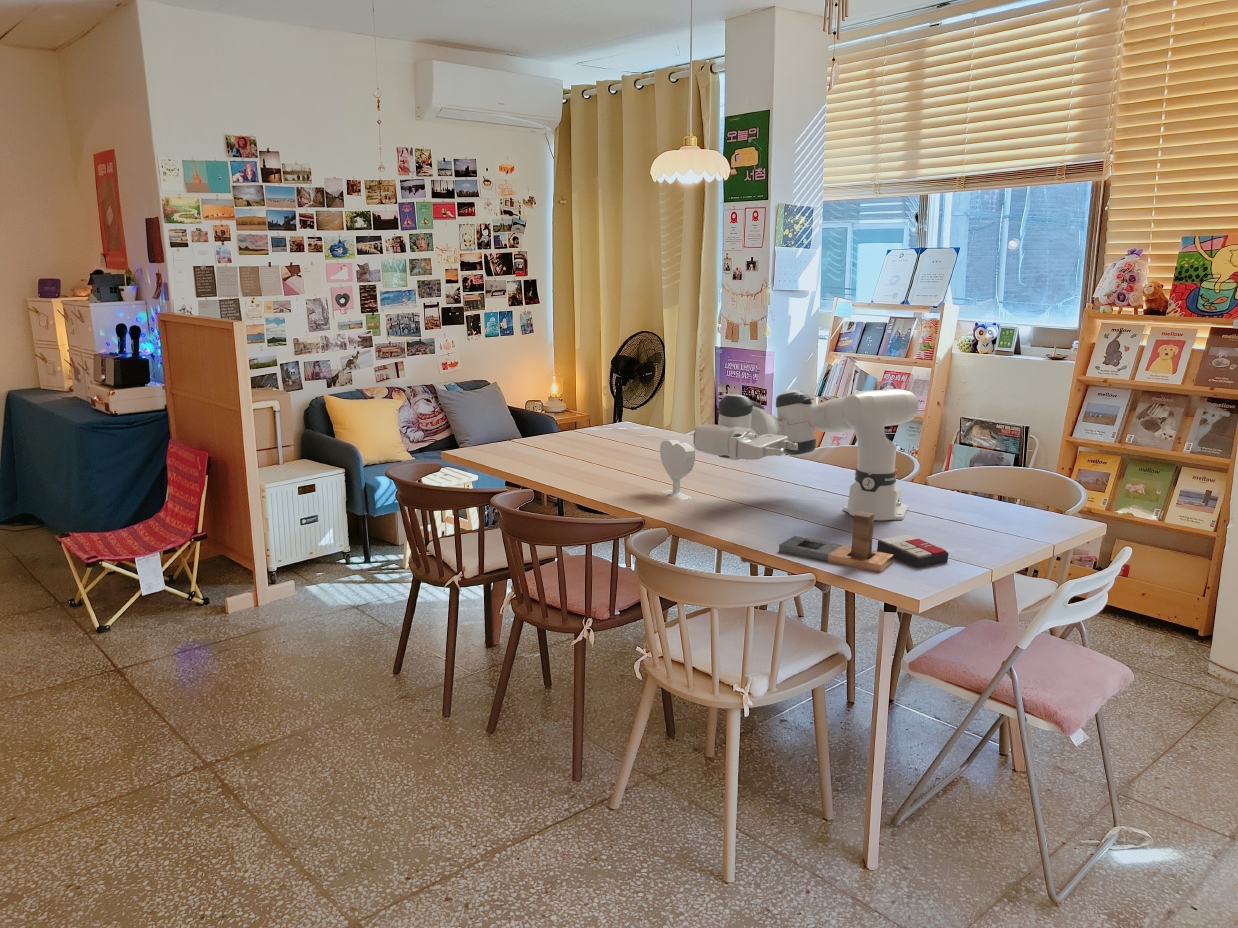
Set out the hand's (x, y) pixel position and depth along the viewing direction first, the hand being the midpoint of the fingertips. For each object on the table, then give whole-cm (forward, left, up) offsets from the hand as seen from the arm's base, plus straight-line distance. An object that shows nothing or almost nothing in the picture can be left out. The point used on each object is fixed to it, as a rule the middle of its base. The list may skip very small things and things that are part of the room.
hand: (789, 449), depth 250 cm
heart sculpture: (-25, -51, -26) cm, 63 cm away
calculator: (-6, +34, -27) cm, 43 cm away
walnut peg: (+6, +24, -26) cm, 36 cm away
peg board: (+6, +17, -26) cm, 32 cm away
